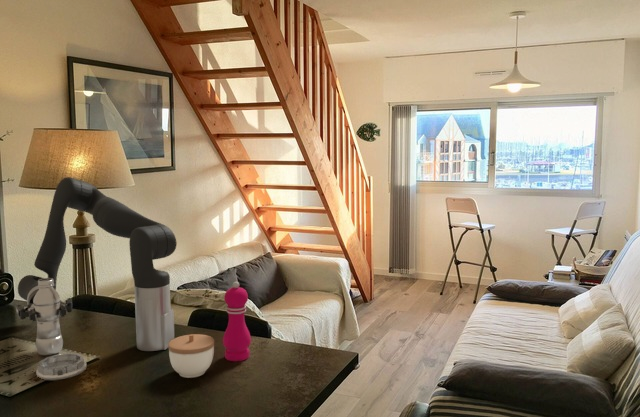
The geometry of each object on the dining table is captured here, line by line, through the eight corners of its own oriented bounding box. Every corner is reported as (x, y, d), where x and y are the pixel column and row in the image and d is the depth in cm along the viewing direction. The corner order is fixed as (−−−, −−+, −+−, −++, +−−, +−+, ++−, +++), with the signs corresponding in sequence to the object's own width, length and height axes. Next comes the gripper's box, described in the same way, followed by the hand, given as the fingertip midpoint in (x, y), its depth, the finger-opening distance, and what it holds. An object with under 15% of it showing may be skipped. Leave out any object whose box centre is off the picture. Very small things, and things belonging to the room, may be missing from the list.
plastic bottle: (36, 360, 136) (31, 283, 133) (36, 351, 142) (31, 278, 139) (63, 355, 139) (59, 280, 136) (63, 347, 145) (59, 275, 142)
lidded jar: (198, 384, 121) (197, 345, 120) (159, 378, 125) (158, 339, 124) (223, 367, 131) (222, 330, 130) (186, 361, 135) (185, 325, 134)
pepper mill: (248, 362, 134) (247, 285, 132) (220, 362, 134) (218, 285, 132) (253, 351, 141) (252, 278, 139) (226, 351, 141) (224, 278, 139)
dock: (95, 362, 134) (94, 353, 133) (69, 381, 123) (68, 371, 123) (55, 360, 135) (54, 351, 135) (25, 378, 124) (25, 368, 124)
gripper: (12, 291, 147) (16, 305, 133) (69, 284, 154) (78, 297, 140) (14, 317, 147) (17, 334, 133) (70, 309, 155) (79, 324, 141)
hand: (48, 315), depth 137 cm, fingers closed on plastic bottle, 6 cm apart
